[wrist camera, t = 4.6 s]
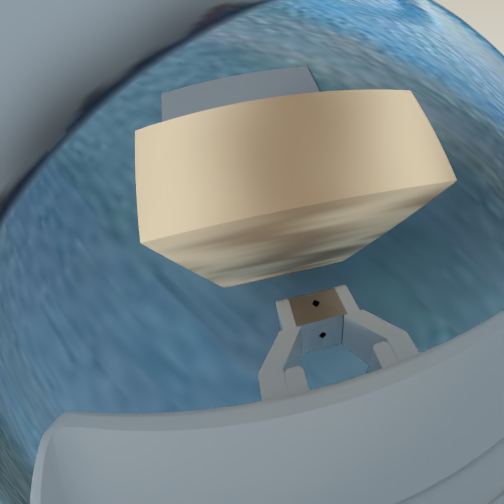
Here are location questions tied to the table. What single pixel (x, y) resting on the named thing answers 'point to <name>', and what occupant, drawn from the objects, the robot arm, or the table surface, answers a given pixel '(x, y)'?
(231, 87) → the mat
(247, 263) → the oak slab
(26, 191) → the table surface
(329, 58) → the table surface
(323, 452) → the robot arm
